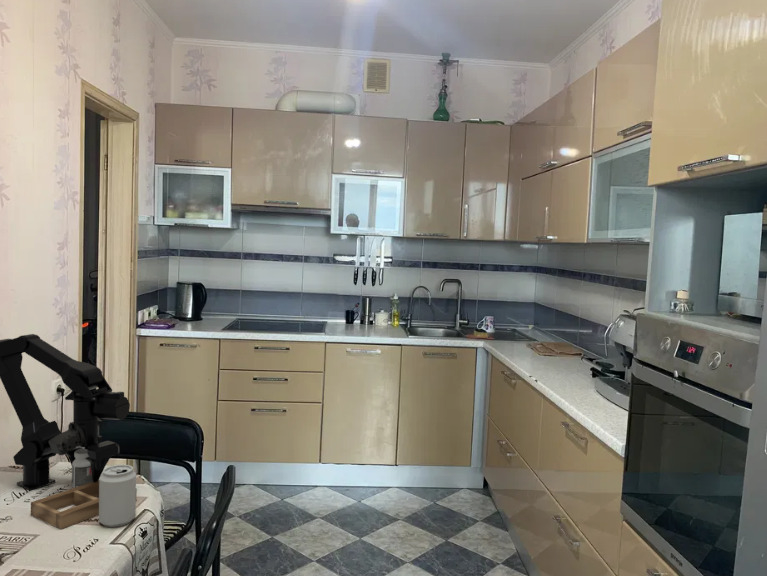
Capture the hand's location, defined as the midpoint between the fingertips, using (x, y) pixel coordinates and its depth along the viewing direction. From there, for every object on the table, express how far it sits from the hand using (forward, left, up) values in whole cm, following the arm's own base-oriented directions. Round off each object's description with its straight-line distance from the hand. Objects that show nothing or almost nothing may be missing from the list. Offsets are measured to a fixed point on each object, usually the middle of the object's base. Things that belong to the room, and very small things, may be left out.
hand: (86, 479), depth 145 cm
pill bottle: (-1, 0, -3) cm, 3 cm away
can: (+21, -6, -3) cm, 22 cm away
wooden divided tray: (+9, -6, -3) cm, 11 cm away
